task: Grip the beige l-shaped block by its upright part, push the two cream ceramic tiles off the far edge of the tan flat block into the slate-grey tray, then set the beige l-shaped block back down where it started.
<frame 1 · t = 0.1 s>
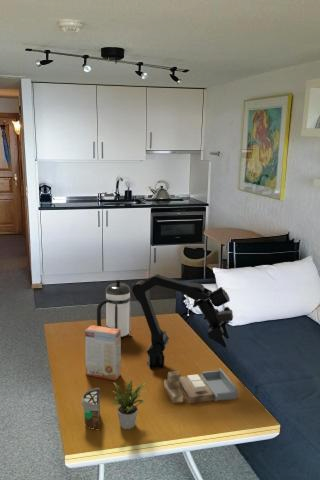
hand: (227, 342, 194), 15 cm above the table, tool tilted 35°, fingers open, 9 cm apart
cracker box: (103, 375, 195), on the table
beige l-shaped block: (173, 394, 181), on the table
coffee press: (116, 336, 235), on the table
house plant: (129, 427, 159), on the table
cream tile B: (194, 382, 186), point 2 cm above the table, touching tan flat block
grey tray: (217, 388, 186), on the table
tan flat block: (194, 391, 184), on the table
cream tile A: (198, 388, 181), point 2 cm above the table, touching tan flat block
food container: (90, 422, 162), on the table
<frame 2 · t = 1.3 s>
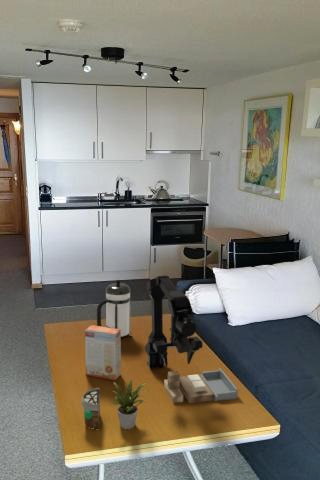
hand: (177, 365, 179), 12 cm above the table, tool pointing down, fingers open, 9 cm apart
nothing on the table moved.
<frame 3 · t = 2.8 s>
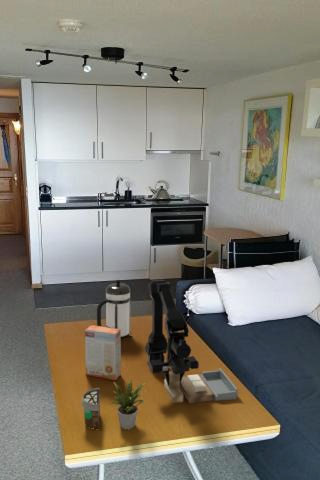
hand: (173, 384, 181), 4 cm above the table, tool pointing down, fingers closed on beige l-shaped block, 4 cm apart
beige l-shaped block: (173, 393, 181), on the table, touching gripper
everything else where it was.
when the fingers open (5 cm above the table, at t = 10.3 s): beige l-shaped block drops 1 cm, on the table.
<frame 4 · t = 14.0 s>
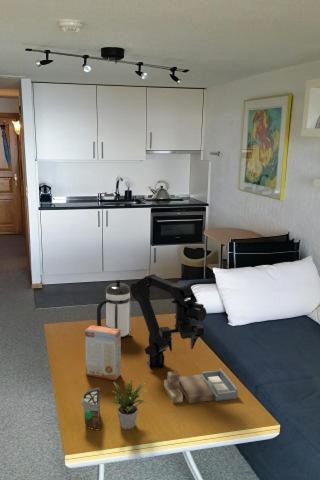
hand: (181, 350, 193), 12 cm above the table, tool pointing down, fingers open, 9 cm apart
beige l-shaped block: (172, 394, 181), on the table
cream tile B: (214, 383, 189), resting on grey tray
cream tile A: (220, 391, 183), resting on grey tray
everything else where it was.
at the end: cream tile A inside the target area (3.2 cm from its centre), resting on grey tray; cream tile B inside the target area (3.1 cm from its centre), resting on grey tray; beige l-shaped block tilted 0° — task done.
